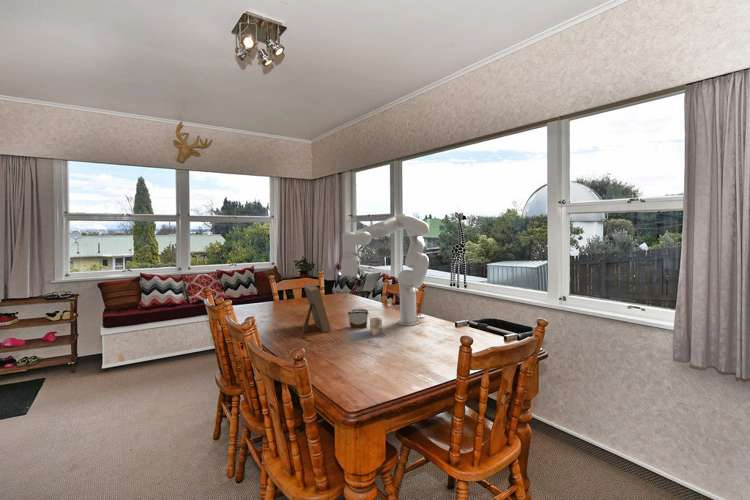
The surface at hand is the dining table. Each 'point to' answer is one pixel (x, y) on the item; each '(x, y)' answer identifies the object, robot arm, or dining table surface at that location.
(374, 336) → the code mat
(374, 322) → the birch block
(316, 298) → the photo frame
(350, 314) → the food container
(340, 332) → the dining table surface
